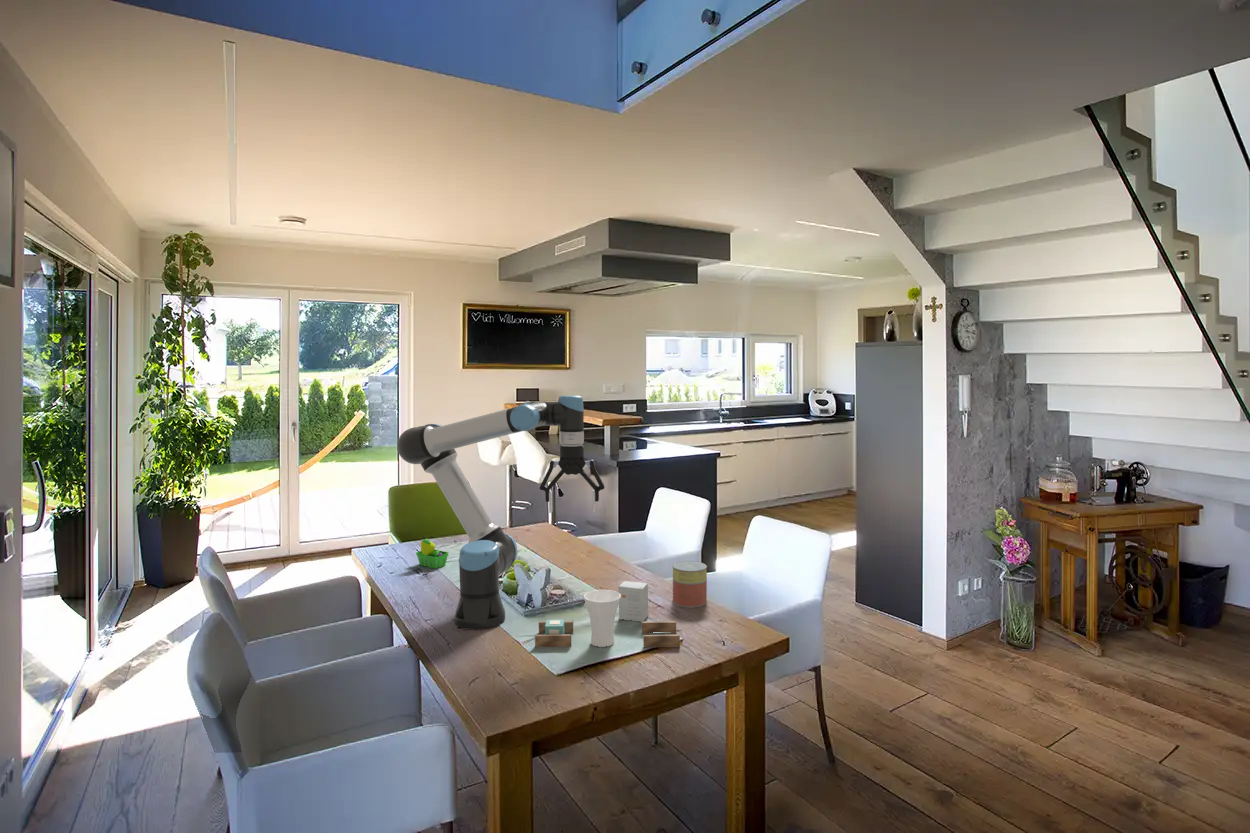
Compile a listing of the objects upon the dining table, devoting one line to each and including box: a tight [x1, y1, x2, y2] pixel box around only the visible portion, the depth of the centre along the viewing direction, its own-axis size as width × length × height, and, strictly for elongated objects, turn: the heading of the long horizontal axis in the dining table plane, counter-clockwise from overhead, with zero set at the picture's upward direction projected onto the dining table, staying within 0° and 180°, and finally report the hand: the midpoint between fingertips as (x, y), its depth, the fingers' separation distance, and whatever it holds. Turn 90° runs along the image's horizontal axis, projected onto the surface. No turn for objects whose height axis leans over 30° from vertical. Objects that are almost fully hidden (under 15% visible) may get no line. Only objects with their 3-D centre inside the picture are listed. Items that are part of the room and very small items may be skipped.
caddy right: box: [641, 620, 681, 648], centre depth 192 cm, size 10×11×3 cm
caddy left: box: [534, 620, 574, 648], centre depth 193 cm, size 10×11×3 cm
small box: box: [617, 580, 649, 623], centre depth 209 cm, size 8×6×10 cm
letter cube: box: [544, 619, 565, 635], centre depth 192 cm, size 5×5×5 cm
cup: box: [583, 589, 621, 648], centre depth 190 cm, size 10×10×14 cm
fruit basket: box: [415, 538, 450, 570], centre depth 264 cm, size 11×9×11 cm
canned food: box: [672, 560, 708, 608], centre depth 223 cm, size 11×11×12 cm
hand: (572, 511), depth 213 cm, fingers open, 13 cm apart
